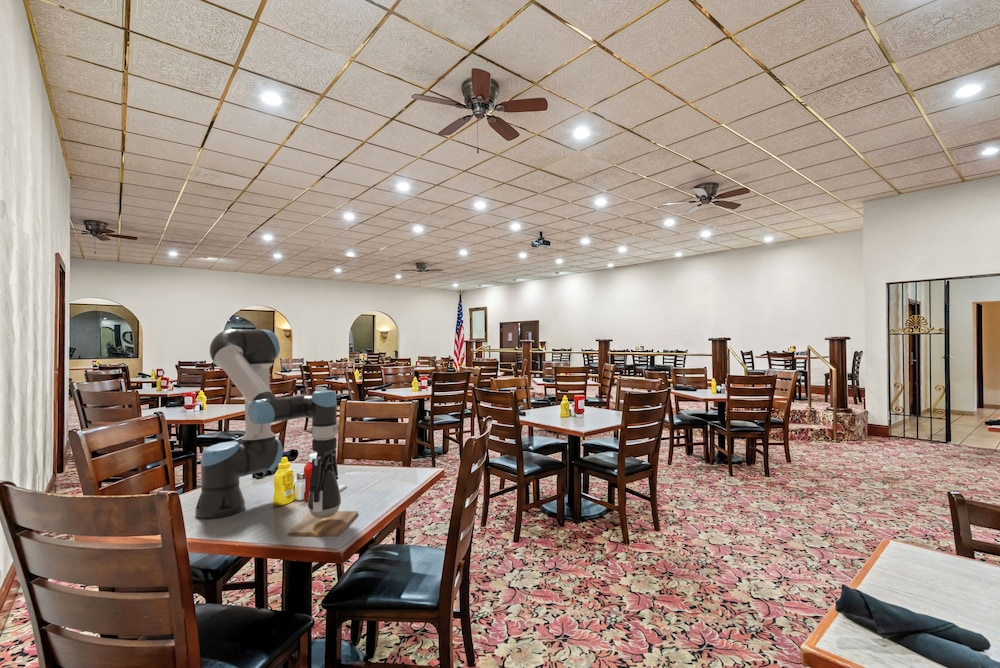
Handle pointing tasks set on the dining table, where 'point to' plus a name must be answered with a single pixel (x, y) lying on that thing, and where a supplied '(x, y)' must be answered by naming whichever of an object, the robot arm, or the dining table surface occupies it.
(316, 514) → the dark grey rounded ovoid
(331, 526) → the board
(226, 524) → the dining table surface
